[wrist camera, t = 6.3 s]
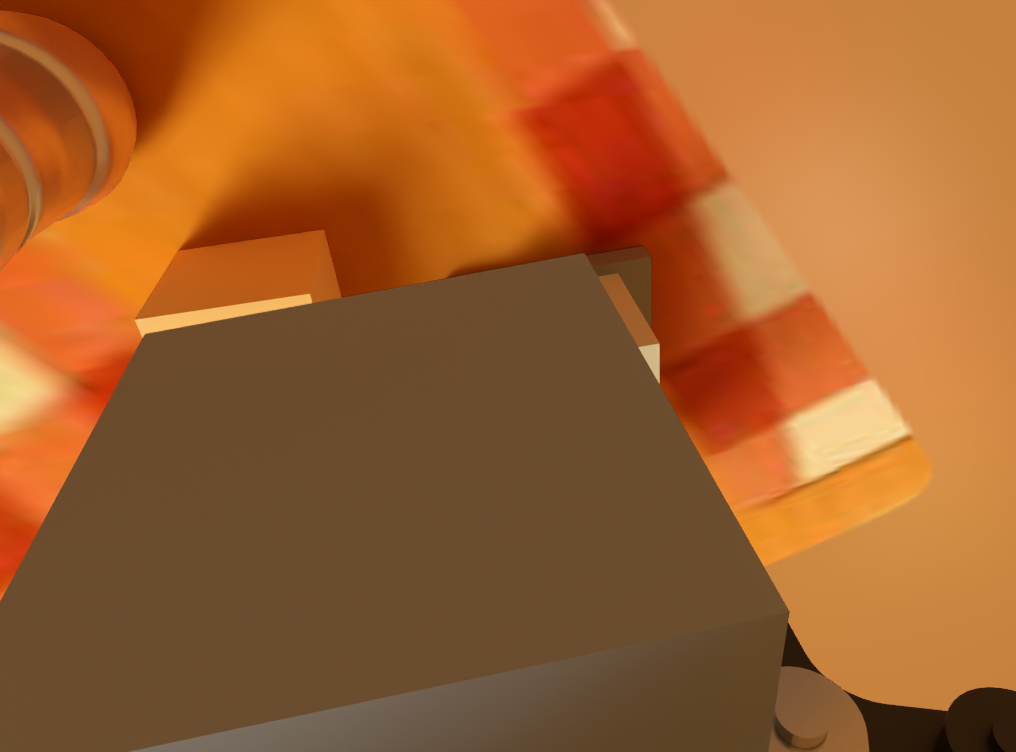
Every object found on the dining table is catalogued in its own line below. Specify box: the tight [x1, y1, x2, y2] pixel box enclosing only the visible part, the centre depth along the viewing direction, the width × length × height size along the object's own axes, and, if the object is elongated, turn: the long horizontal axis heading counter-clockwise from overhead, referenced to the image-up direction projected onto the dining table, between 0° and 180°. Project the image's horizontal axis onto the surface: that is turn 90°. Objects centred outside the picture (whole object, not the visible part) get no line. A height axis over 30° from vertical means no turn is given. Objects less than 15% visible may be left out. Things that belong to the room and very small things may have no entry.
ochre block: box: [135, 230, 342, 338], centre depth 29 cm, size 6×8×6 cm
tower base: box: [586, 246, 660, 384], centre depth 31 cm, size 9×9×7 cm
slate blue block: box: [0, 253, 789, 752], centre depth 9 cm, size 6×8×6 cm
